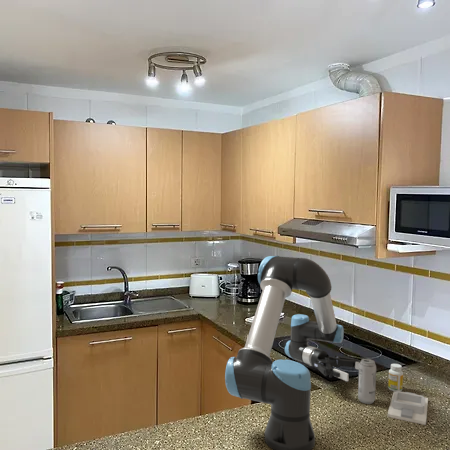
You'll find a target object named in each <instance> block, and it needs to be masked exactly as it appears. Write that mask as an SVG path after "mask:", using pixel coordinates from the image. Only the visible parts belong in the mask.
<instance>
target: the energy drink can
mask: <svg viewBox="0 0 450 450" xmlns="http://www.w3.org/2000/svg"><path fill="white" fill-rule="evenodd" d="M359 362H360V364H359V370H358V387H357V388H358V389H357V390H358V391H357V398H358V400H359V402H360V403H362V404H365V405H372V404H373V403H374V401H376V388H377V387H376V382H377V381H376V380H377V365H376V362H375V360H374V359H370V358H361V360H360V361H359Z"/></svg>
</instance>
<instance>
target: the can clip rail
mask: <svg viewBox="0 0 450 450" xmlns="http://www.w3.org/2000/svg"><path fill="white" fill-rule="evenodd" d="M428 403H429V398H428V397H424V395H421V394H420V395H419V394H417V393H413V392H410V391H409V392H408V391H396V392H395V391H392V397H391V399H390V404H389V407H388V410H387V411H388V412H387V417H388V418H392V419H397V420H401V421H405V422H410V423H414V424H419V425H423V426H426V425H427V417H428Z"/></svg>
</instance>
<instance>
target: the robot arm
mask: <svg viewBox="0 0 450 450" xmlns="http://www.w3.org/2000/svg"><path fill="white" fill-rule="evenodd" d="M257 281H258V282H257V283H258V284H259V286H260V289H261V290H262V291H261V294H260V297H259V301H258V304H257V307H256V310H255V314H254V316H253V319H252V322H251V326H250V329H249V333H248V335H247V339H246V342H245V345H244V347H242V348H240V349H239V350H238V352H237V355H236V356H231V357H229V359H228V360H227V361H226V367H225V371H224V372H225V374H224V381H225V387H226V390H227V392H228V394H230V395H231V396H233V397H237V398H240V399H244V400H249V401H255V402H259V403H263V404H268V405H270V416H269V418H268V421H267V424H266V426H265V430H264V442H265V443H266V445H267V446H268V447H270V448H271V449H272V450H312V449H314V448H315V444H316V443H315V442H316V435H315V432H314V428H313V424H312V422H311V421H312V420H311V415H310V412H311V391H312V389H311V388H312V383H311V382H312V380H311V372H310V370H309V369H308V368H307V367H306V366H305V365H304V364H306V365H308V366H309V367H314V368H315V369H317V370H318V371H319V372H320V373H321V374H322V375H323V376H324V377H329V378H333V377H335V378H337V379H340V380H343V381H345V382H349V373H347V372H345V371H343V370H340V369H337V368H339V367H345V368H346V367H348V368H354V369H355V370H358V371H359V364H360V362H361V361H360V359H358V358H351V357H345V356H341V355H337V354H335V355H334V356H331V355H329V353H328V352H327V351H326V350H323V349H320V348H318V347H315V346H311V345H309V340H314V341H319V342H320V341H321V342H325V343H327V342H328V343H332V344H335V343H336V344H341V343H342V342H343V339H344V332H345V330H344V326H343V325H341V324H338V323H337V320H336V316H335V310H334V305H333V301H332V300H333V299H332V296H331V291H332V283H331V279H330V277H329V275H328V274H327V272H326V271H325V270H324V269H323V267H322V266H321V265H320V264H319V263H317V262H315V261H314V260H312V259H309V258H307V257H306V258H305V257H293V256H280V255H275V256H274V255H269V256H266V257H264V259H262V261H261V262H260V265H259V267H258V273H257ZM292 290H301V291H305V293H306V294H307V295H308V296H309V297H310V301H311V304H312V308H313V312H314V316H315V319H316V321H313V320H310V317H309V316H308V315H306V314H300V313H298V314H294V315H292V316H291V323H290V340H288V341H286V343H285V346H284V353H285V355H286V356H288V357H289V358H291V359H292V360H290V359H276V360H274V361H273V359H272V357H271V356H270V354H271V351H272V349H273V344H274V341H275V337H276V333H277V329H278V327H279V323H280V319H281V315H282V313H283V309H284V304H285V301H286V298H288V297H290V296H291V294H292ZM294 360H296V361H294ZM297 361H298V362H297ZM300 362H301V363H300ZM302 363H304V364H302ZM335 367H336V368H335Z"/></svg>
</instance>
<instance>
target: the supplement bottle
mask: <svg viewBox="0 0 450 450" xmlns="http://www.w3.org/2000/svg"><path fill="white" fill-rule="evenodd" d="M403 385H404V372H403V370H402V365H401V364H399V363H391V364H390V369H389V370H388V384H387V388H388V390H390V391H392V392H396V391H400V392H403Z"/></svg>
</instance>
